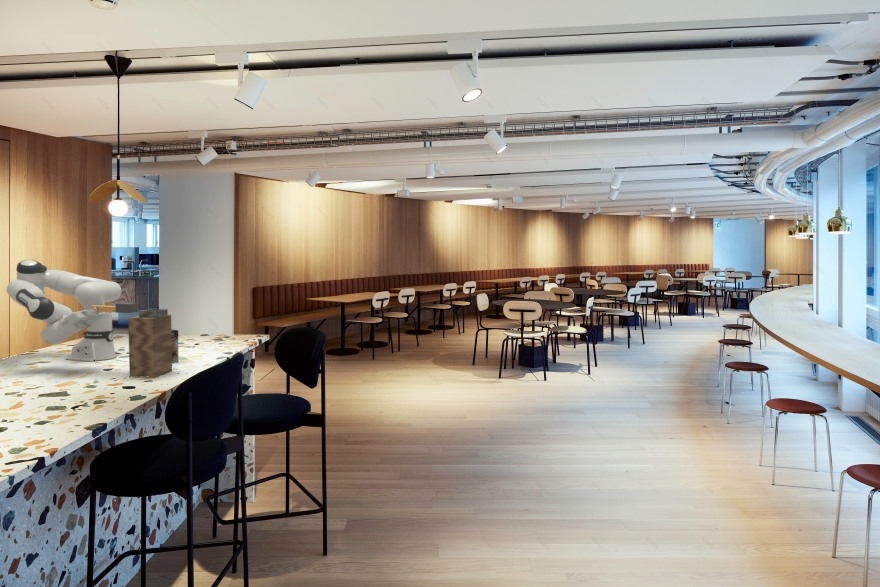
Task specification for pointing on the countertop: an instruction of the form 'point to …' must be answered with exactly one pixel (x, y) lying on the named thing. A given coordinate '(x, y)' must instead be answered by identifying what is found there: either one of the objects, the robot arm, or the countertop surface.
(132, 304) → the handled tool
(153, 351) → the stand
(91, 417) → the countertop surface
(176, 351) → the coffee box
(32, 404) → the countertop surface
